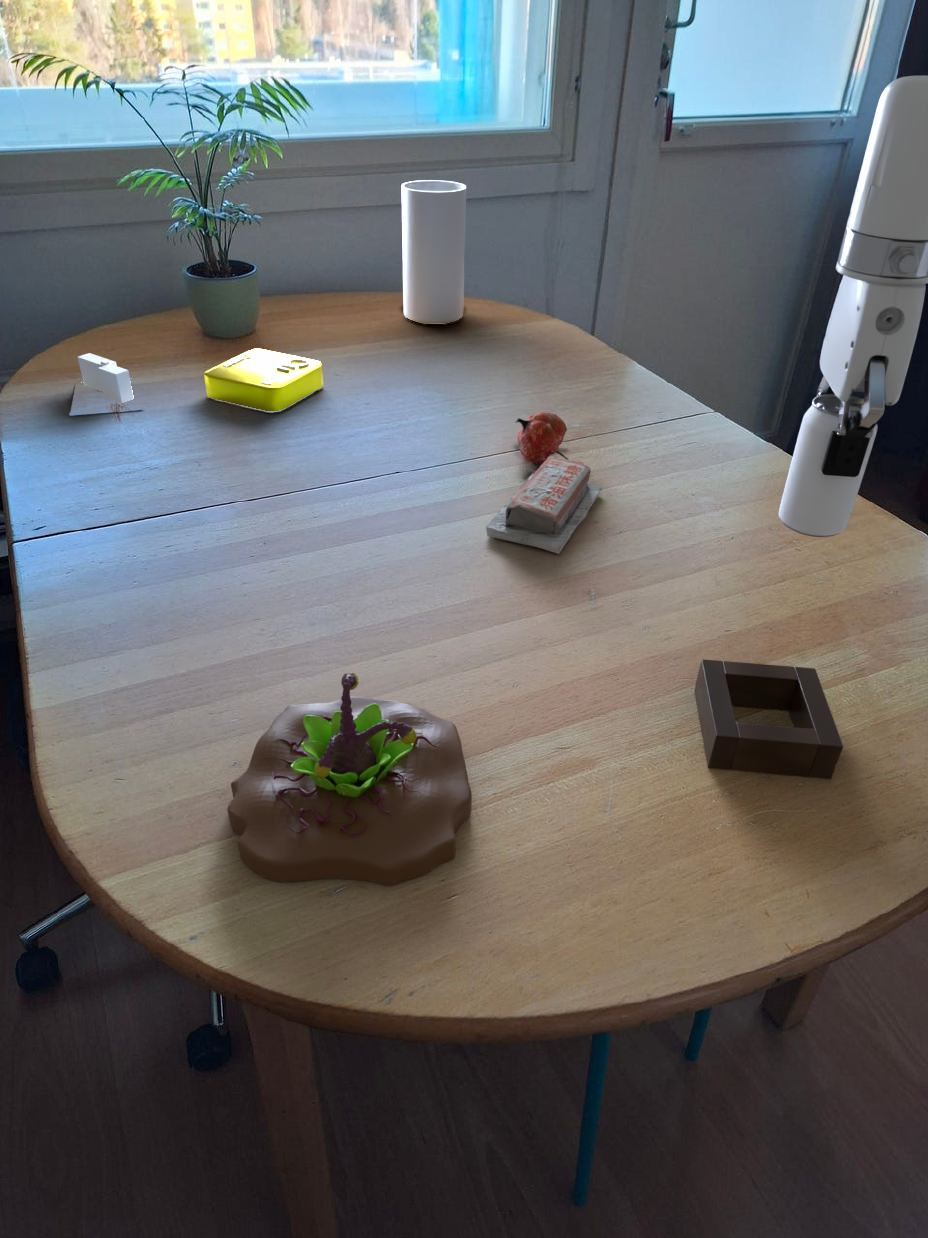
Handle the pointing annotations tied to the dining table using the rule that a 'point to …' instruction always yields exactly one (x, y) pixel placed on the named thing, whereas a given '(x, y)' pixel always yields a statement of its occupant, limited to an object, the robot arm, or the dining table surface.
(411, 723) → the plant
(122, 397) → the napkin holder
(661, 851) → the dining table surface
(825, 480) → the can
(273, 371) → the element tile
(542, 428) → the pomegranate
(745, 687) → the socket block
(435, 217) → the cylinder vase
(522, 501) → the packaged product
